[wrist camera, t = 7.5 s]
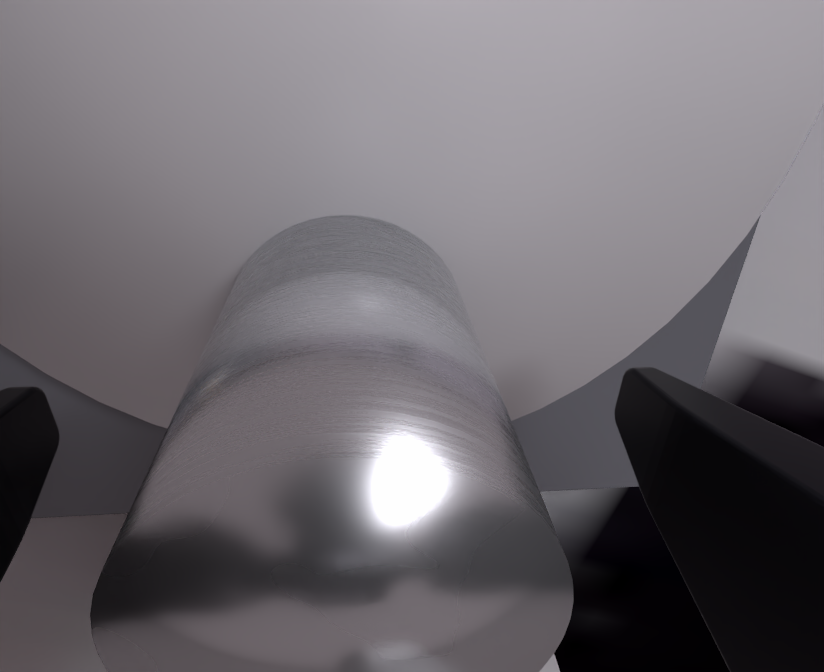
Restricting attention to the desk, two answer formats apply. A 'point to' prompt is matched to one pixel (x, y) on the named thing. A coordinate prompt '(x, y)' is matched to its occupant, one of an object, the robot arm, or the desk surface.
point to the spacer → (337, 484)
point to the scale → (386, 191)
